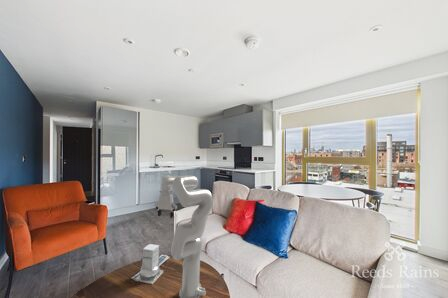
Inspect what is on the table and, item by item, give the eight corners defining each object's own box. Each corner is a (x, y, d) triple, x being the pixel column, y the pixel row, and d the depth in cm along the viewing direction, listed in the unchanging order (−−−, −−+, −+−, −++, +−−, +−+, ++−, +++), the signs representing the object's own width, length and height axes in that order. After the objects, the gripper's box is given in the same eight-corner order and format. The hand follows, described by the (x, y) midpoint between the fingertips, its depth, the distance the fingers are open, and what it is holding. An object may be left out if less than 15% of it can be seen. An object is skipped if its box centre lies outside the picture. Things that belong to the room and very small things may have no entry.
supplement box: (141, 269, 116) (142, 248, 116) (148, 262, 123) (149, 243, 124) (152, 271, 114) (152, 250, 115) (158, 264, 122) (159, 244, 122)
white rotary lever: (163, 272, 124) (163, 262, 124) (152, 284, 112) (152, 273, 112) (147, 269, 126) (147, 259, 126) (135, 280, 115) (135, 270, 115)
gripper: (152, 192, 133) (151, 217, 133) (174, 194, 130) (174, 219, 129) (158, 191, 141) (157, 213, 140) (179, 192, 137) (178, 216, 136)
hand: (165, 216), depth 135 cm, fingers open, 9 cm apart
